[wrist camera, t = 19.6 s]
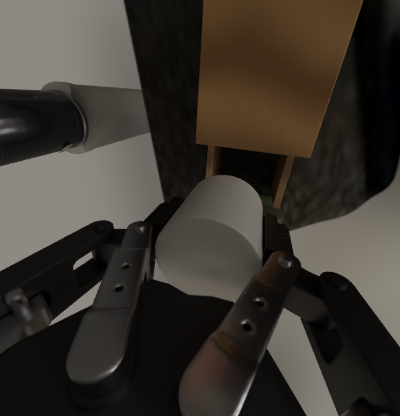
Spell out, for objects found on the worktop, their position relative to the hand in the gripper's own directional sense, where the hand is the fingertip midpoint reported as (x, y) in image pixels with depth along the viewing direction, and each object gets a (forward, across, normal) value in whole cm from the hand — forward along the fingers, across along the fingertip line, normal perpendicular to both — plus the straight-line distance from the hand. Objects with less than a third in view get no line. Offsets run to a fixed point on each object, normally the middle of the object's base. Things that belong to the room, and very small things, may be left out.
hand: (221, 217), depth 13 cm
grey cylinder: (+1, 0, 0) cm, 1 cm away
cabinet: (+22, -1, -9) cm, 24 cm away
